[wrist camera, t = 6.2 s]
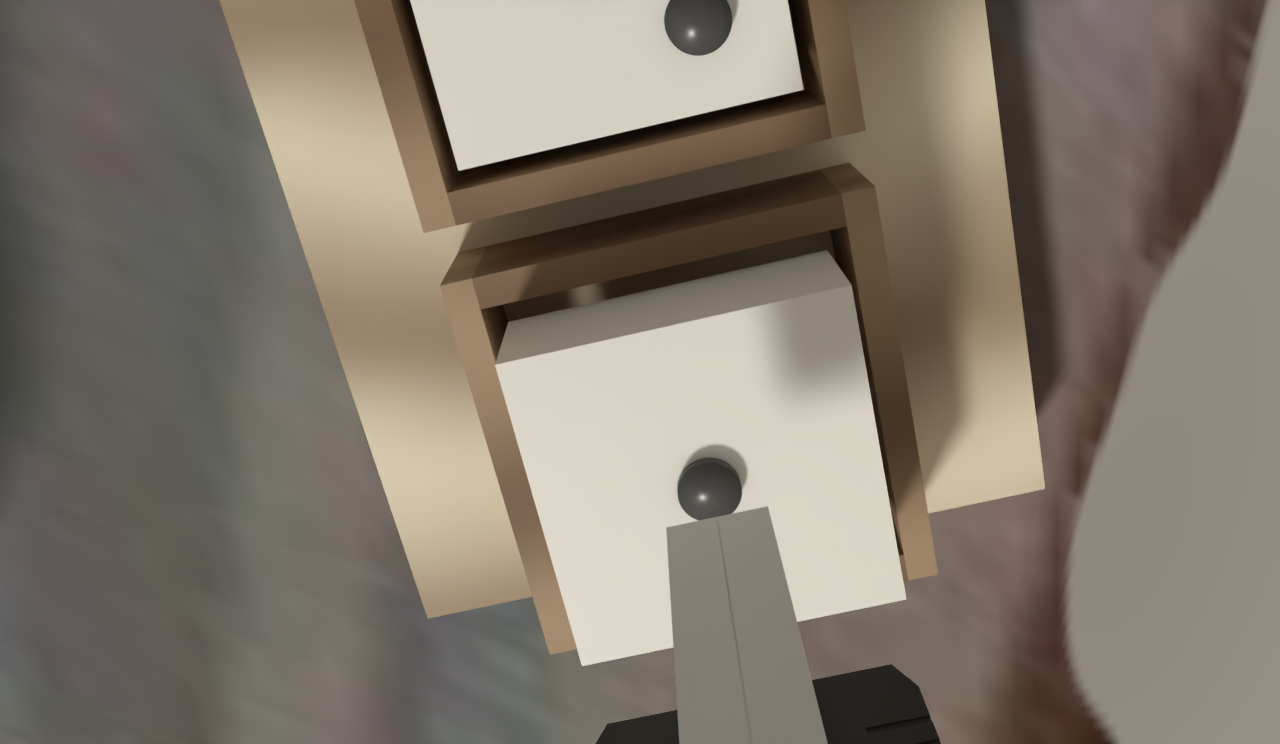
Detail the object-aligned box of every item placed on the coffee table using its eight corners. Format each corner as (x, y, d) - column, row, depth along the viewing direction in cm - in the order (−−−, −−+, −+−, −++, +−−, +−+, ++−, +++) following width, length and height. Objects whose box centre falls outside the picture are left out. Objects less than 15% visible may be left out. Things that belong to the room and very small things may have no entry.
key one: (508, 321, 22) (493, 370, 19) (827, 250, 21) (854, 289, 19) (586, 597, 24) (581, 673, 21) (878, 536, 23) (909, 606, 21)
